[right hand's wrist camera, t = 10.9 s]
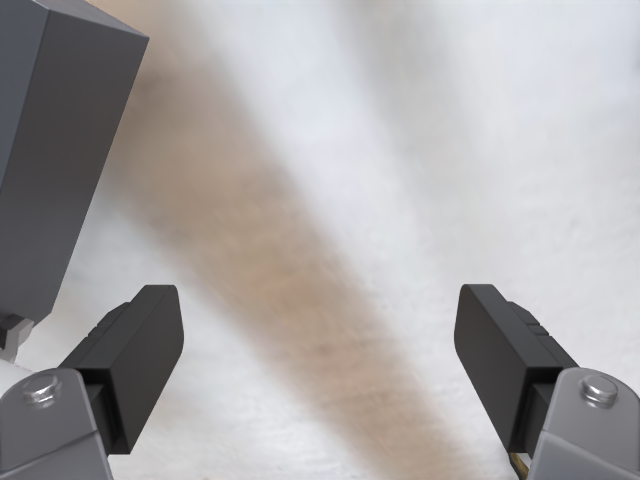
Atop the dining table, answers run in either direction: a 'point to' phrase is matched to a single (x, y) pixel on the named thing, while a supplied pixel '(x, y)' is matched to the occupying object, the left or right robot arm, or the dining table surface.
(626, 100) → the dining table surface
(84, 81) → the box
